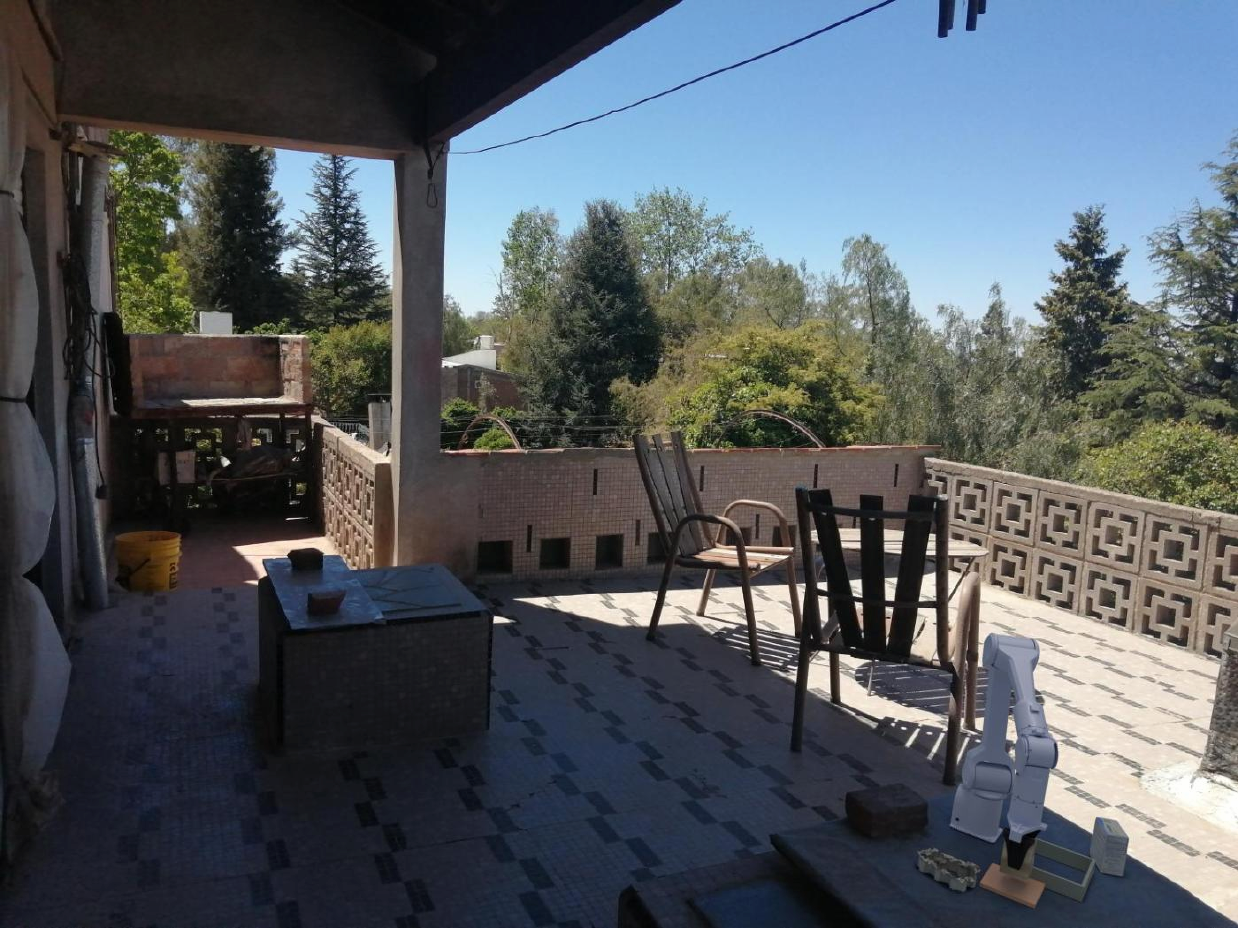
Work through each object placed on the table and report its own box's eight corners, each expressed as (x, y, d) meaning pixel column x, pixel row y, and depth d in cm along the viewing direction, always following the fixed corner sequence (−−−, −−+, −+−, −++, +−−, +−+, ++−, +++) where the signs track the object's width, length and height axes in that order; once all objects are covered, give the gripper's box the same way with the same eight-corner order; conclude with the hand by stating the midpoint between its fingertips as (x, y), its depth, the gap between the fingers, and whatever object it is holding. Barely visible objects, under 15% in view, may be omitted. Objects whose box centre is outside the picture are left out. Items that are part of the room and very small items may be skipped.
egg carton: (980, 887, 178) (984, 867, 178) (956, 896, 174) (960, 876, 173) (935, 859, 187) (938, 840, 186) (911, 866, 183) (914, 847, 182)
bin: (1009, 873, 184) (1012, 859, 184) (1025, 847, 196) (1027, 834, 195) (1081, 901, 177) (1084, 887, 176) (1093, 873, 188) (1095, 859, 188)
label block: (1026, 882, 176) (1032, 847, 175) (998, 870, 179) (1004, 836, 178) (1031, 874, 179) (1037, 840, 178) (1003, 863, 182) (1008, 829, 181)
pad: (979, 885, 178) (979, 882, 178) (992, 866, 186) (992, 862, 186) (1034, 908, 172) (1035, 904, 172) (1045, 887, 181) (1045, 883, 180)
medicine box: (1122, 877, 188) (1130, 837, 187) (1099, 872, 189) (1107, 833, 188) (1110, 858, 196) (1117, 819, 195) (1088, 853, 197) (1095, 815, 196)
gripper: (1042, 817, 169) (1030, 886, 171) (1057, 792, 181) (1046, 857, 182) (1002, 802, 173) (991, 870, 175) (1019, 779, 185) (1008, 843, 186)
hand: (1016, 863), depth 179 cm, fingers closed on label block, 4 cm apart
